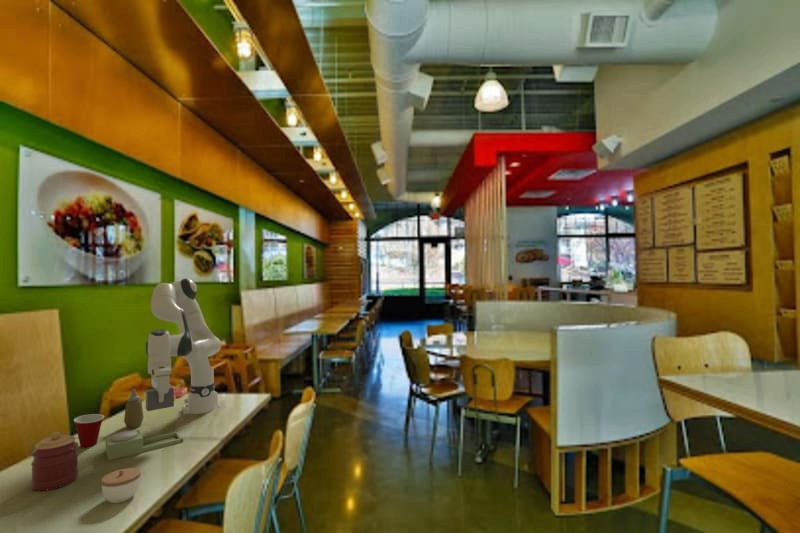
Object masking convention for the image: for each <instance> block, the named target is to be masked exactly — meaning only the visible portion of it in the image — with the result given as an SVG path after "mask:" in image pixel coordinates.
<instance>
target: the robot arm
mask: <svg viewBox="0 0 800 533" xmlns="http://www.w3.org/2000/svg"><path fill="white" fill-rule="evenodd" d="M197 294H198V286H197V284H196V282H195V280H193V279H192V278H188V277H187V278H182V279H181V280H177V281H176V280H175V281H174V282H171V283H167V282H162V283H159V284H157V285H156V286H155V288H154V289H153V292H152V295H151V296H152V297H151V302H150V309H151V310H150V311H151V314H152V315H153V316H154V317H156V318H157V319H159V320H160V321H166V322H169V323H170V322H171V323H173V324H176V325H177V327H178V331H179V333H178V334H170V332H169V330H167V329H156V330H152V331H151V332H150V333H149V336H148V340H147V341H146V342H145V355H147V356H148V358H147V374H148V375H150V376H151V381H150V382H151V386H152V388H153V389H155V390H156V391H157V392H158V394H159V398H158V401H159V402H163V401H164V394H165V393H168V391H169V384H170V382H171V381H170V380H171V378H170V377H171V376H170V375H172V358H171V357H183V359H184V360H186V361H187V363H188V366H189V369H190V386H189V394H188V395H187V398H184V400H183V401H184V405H183V406H182V413H183V414H184V415H200V414H206V413H207V414H208V413H211V412H213V411H215V410H217V409H218V408H220V407H222V405H221V404H219V398H218V397H219V396H218V392H217V391H215V388H216V386H215V385H216V384H215V382H214V381H215V380H214V379H215V378H214V373H215V372H214V367H213V366H212V365H210V362H209V357H211V356H214V355H216V354H218V353H219V351H220V350H221V348H222V342H221V339H220V338H218V337H217V336H216V335H214V333H213V332H212V331H211V330H210V328H209V327H208V325H207V324H206V320H205V317H204V315H203V313H202V309H201V307H200V305H199V303H198V301H197V300H196V296H197Z"/></svg>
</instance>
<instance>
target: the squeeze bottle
mask: <svg viewBox="0 0 800 533" xmlns="http://www.w3.org/2000/svg"><path fill="white" fill-rule="evenodd" d="M127 400H128V401H127V402H126V403H125V410H124V418H123V421H124V422H123V423H124V424H125V426H126V428H127V429H135V428H138V427H141V426H142V423H143V420H144V418H145V417H144V412H143V411H144V410H143V401H142V400H140V395H138V394H137V391H136V388H134V389H132V390H131V394H130V396H128V398H127Z"/></svg>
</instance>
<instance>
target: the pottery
mask: <svg viewBox="0 0 800 533" xmlns="http://www.w3.org/2000/svg"><path fill="white" fill-rule="evenodd" d="M169 386H172V387H173V388H174V401H176V399H177V398H182V397H185V395H186V394H188V387H175V386H173V385H172V384H171V383H169Z"/></svg>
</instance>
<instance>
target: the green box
mask: <svg viewBox="0 0 800 533" xmlns="http://www.w3.org/2000/svg"><path fill="white" fill-rule="evenodd" d="M172 437H176V438H175V439H171V440H168V441H163V442H158V443H154V444H149V445H144V444H148V443H151V442H156V441H160V440H164V439H168V438H172ZM180 443H184V438H183V436H182V435H181V434H180V433H179V431H173V432H170V433H164V434H161V435H160V434H159V435H156V436H150V437H146V438H144V437H143V434H142V433H141V431H140V430H124V431H120V432H116V433H114V434H112V435H109V436H105V455H106V458H108V459H107V461H108V460H109V461H113V460H116V458H117V459H121V458H125V457H128V456H132V455H137V454H141V453H144V452H147V451H152V450H156V449H161V448H163V447H168V446H172V445H175V444H180ZM124 456H125V457H124ZM120 457H121V458H120ZM112 459H113V460H112Z"/></svg>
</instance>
